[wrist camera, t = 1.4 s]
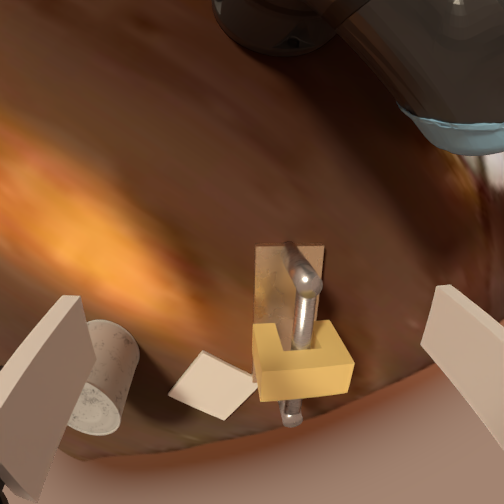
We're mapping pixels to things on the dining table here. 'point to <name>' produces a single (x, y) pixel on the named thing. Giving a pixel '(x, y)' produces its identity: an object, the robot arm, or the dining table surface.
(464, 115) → the robot arm
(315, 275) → the rail stand
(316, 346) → the c link
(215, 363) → the coaster
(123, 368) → the grey speckled cylinder
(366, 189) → the dining table surface
